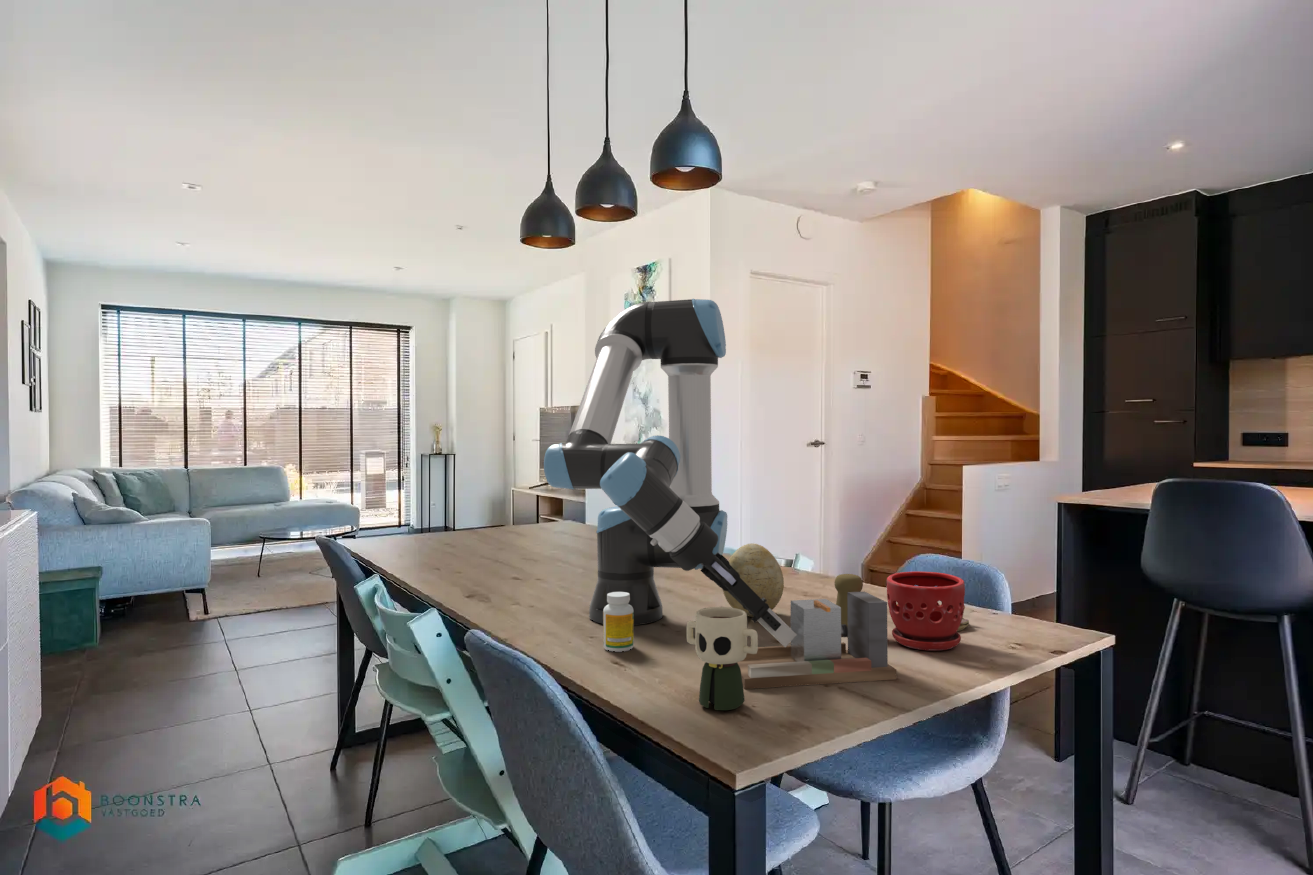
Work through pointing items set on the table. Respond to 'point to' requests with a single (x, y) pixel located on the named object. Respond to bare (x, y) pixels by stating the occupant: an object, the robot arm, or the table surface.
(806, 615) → the grey cube with stick
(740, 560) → the fossilized egg
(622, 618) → the supplement bottle
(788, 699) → the table surface
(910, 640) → the plant pot
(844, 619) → the olive knobbed pawn
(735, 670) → the character mug
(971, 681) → the table surface
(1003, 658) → the table surface
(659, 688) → the table surface
